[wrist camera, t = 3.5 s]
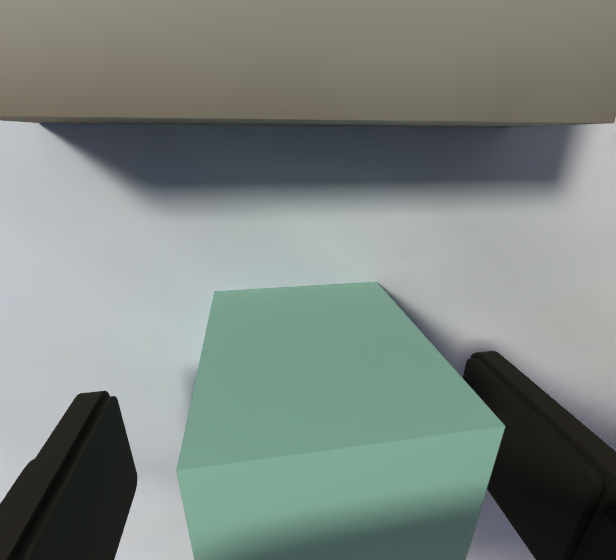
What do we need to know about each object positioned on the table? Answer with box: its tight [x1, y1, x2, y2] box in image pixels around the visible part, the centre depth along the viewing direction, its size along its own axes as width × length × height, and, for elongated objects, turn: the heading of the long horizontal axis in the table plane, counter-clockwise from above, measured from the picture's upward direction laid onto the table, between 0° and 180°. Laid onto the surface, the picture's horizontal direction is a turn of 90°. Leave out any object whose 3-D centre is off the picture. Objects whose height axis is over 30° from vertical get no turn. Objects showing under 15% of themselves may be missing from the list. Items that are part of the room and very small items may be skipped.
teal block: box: [177, 282, 505, 560], centre depth 9 cm, size 5×5×6 cm
